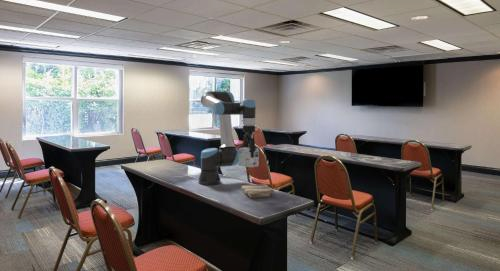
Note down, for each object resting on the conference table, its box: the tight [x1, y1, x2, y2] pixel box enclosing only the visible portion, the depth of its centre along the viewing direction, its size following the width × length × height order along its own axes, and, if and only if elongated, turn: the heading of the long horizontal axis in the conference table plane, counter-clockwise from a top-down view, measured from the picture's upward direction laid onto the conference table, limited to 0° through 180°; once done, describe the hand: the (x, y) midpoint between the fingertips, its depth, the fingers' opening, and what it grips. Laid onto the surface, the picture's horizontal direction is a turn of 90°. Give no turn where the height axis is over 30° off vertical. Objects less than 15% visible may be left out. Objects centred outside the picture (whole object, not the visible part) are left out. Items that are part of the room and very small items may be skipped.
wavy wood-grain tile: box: [240, 183, 275, 199], centre depth 204 cm, size 16×16×4 cm
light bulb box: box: [238, 147, 260, 168], centre depth 201 cm, size 11×7×11 cm, turn 53°
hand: (248, 161), depth 201 cm, fingers closed on light bulb box, 12 cm apart
